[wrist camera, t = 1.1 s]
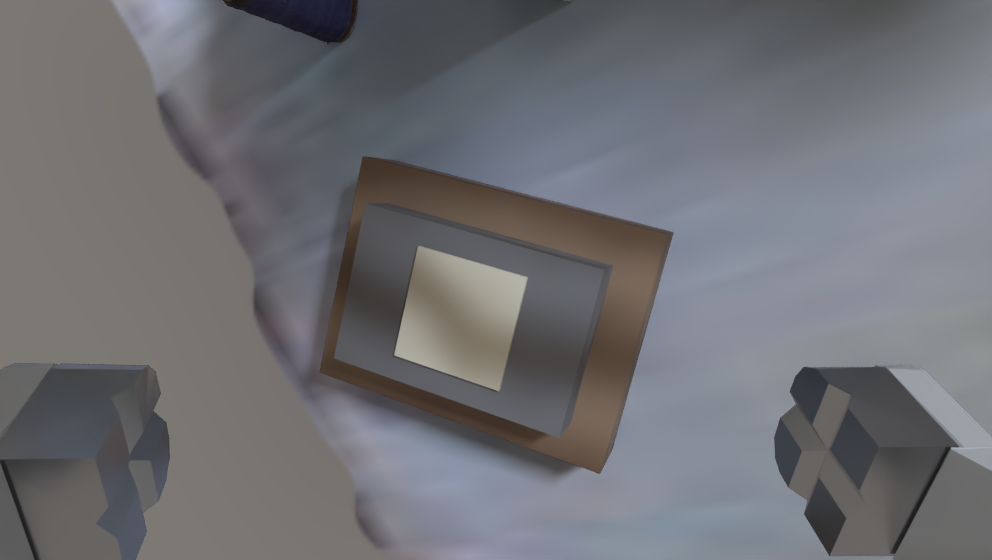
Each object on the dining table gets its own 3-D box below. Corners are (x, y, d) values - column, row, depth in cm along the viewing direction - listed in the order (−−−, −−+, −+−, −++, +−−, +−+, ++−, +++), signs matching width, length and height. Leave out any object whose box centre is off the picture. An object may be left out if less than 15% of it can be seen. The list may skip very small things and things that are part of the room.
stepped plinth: (393, 160, 41) (335, 152, 35) (673, 232, 36) (661, 237, 31) (351, 359, 43) (290, 383, 37) (611, 450, 39) (589, 494, 33)
